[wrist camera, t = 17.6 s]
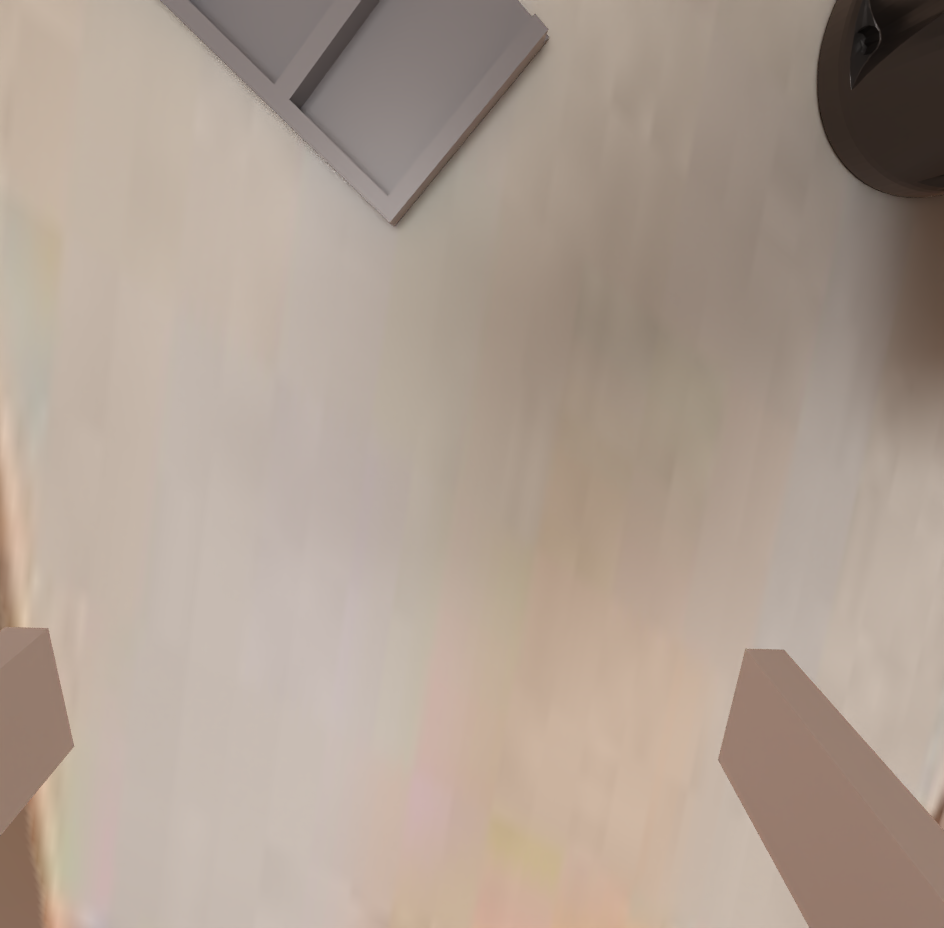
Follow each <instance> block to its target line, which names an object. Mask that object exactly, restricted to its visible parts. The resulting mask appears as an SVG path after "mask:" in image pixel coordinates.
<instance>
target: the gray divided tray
mask: <svg viewBox="0 0 944 928" xmlns="http://www.w3.org/2000/svg"><path fill="white" fill-rule="evenodd" d="M160 1H161V2H163V3H164V4H165V5H166V6H167V7H168V8H169V9H170V10H171V11H172V12H173V13H174V14H175V15H176V16H177V17H178V18H179V19H180V20H181V21H182V22H183V23H184V24H185V25H186V26H187V27H188V28H189V29H190V30H191V31H192V32H193V33H194V34H196V35H197V36H198V37H199V38H200V39H201V40H202V41H203V42H204V43H205V44H206V45H207V46H208V47H209V48H210V49H211V50H212V51H213V52H214V53H215V54H216V55H217V56H218V57H219V58H220V59H221V60H222V61H223V62H224V63H225V64H226V65H227V66H228V67H230V68H231V69H232V70H233V71H234V72H235V73H236V74H237V75H238V76H239V77H240V78H241V79H242V80H243V81H244V82H245V83H246V84H247V85H248V86H249V87H250V88H251V89H252V90H253V91H254V92H255V93H256V94H257V95H258V96H259V97H260V98H261V99H263V100H264V101H265V102H266V103H267V104H268V105H269V106H270V107H271V108H272V109H273V110H274V111H275V112H276V113H277V114H278V115H279V116H280V117H281V118H282V119H283V120H284V121H285V122H286V123H287V124H288V125H289V126H290V127H291V128H292V129H293V130H294V131H296V132H297V133H298V134H299V135H300V136H301V137H302V138H303V139H304V140H305V141H306V142H307V143H308V144H309V145H310V146H311V147H312V148H313V149H314V150H315V151H316V152H317V153H318V154H319V155H320V156H321V157H322V158H323V159H324V160H325V161H326V162H327V163H328V164H330V165H331V166H332V167H333V168H334V169H335V170H336V171H337V172H338V173H339V174H340V175H341V176H342V177H343V178H344V179H345V180H346V181H347V182H348V183H349V184H350V185H351V186H352V187H353V188H354V189H355V190H356V191H357V192H358V193H359V194H360V195H361V196H363V197H364V198H365V199H366V200H367V201H368V202H369V203H370V204H371V205H372V206H373V207H374V208H375V209H376V210H377V211H378V212H379V213H380V214H381V215H382V216H383V217H384V218H385V219H386V220H387V221H388V222H389V223H390V224H392V225H393V226H395V225H396V224H397V223H398V221H399V220H400V219H401V218H402V217H403V215H404V214H405V213H406V212H407V211H408V209H409V208H410V207H411V206H412V204H413V203H414V202H415V201H416V200H417V198H418V197H419V196H420V195H421V194H422V192H423V191H424V190H425V189H426V187H427V186H428V185H429V184H430V183H431V181H432V180H433V179H434V178H435V176H436V175H437V174H438V173H439V172H440V170H441V169H442V168H443V167H444V166H445V164H446V163H447V162H448V161H449V159H450V158H451V157H452V156H453V155H454V153H455V152H456V151H457V150H458V149H459V147H460V146H461V145H462V144H463V142H464V141H465V140H466V139H467V138H468V136H469V135H470V134H471V133H472V132H473V130H474V129H475V128H476V127H477V125H478V124H479V123H480V122H481V121H482V119H483V118H484V117H485V116H486V115H487V113H488V112H489V111H490V110H491V108H492V107H493V106H494V105H495V104H496V102H497V101H498V100H499V99H500V97H501V96H502V95H503V94H504V93H505V91H506V90H507V89H508V88H509V87H510V85H511V84H512V83H513V82H514V80H515V79H516V78H517V77H518V76H519V74H520V73H521V72H522V71H523V70H524V68H525V67H526V66H527V65H528V63H529V62H530V61H531V60H532V59H533V57H534V56H535V55H536V54H537V53H538V51H539V50H540V49H541V48H542V46H543V45H544V44H545V43H546V42H547V40H548V38H549V36H548V35H547V31H548V28H547V27H546V26H545V25H544V24H543V22H542V21H541V20H540V19H539V18H538V17H537V15H536V14H534V15H533V17H532V16H531V15H530V14H529V13H528V12H527V10H526V9H525V8H524V7H523V6H522V5H521V3H520V2H519V1H518V0H160Z"/></svg>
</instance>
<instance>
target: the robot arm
mask: <svg viewBox="0 0 944 928" xmlns="http://www.w3.org/2000/svg"><path fill="white" fill-rule="evenodd" d="M818 96H819V105H820V111H821V116H822V120H823V124H824V127H825V130H826V133H827V136H828V138H829V140H830V143H831V145H832V147H833V148H834V150H835V152H836V154H837V155H838V157H839V158H840V160H841V161H842V162H843V163H844V165H845V166H846V167H847V168H848V169H849V170H850V171H851V172H852V173H853V174H854V175H855V176H856V177H858V178H859V179H860V180H861V181H863V182H864V183H866V184H867V185H869V186H871V187H873V188H875V189H877V190H880V191H882V192H885V193H888V194H892V195H896V196H902V197H914V198H917V197H931V196H937V195H943V194H944V0H837V2H836V4H835V6H834V9H833V11H832V14H831V16H830V19H829V22H828V25H827V28H826V32H825V35H824V39H823V44H822V49H821V54H820V61H819V71H818ZM73 747H74V744H73V739H72V735H71V730H70V725H69V721H68V716H67V712H66V707H65V703H64V698H63V694H62V689H61V685H60V680H59V675H58V671H57V666H56V662H55V657H54V653H53V648H52V644H51V639H50V634H49V630H48V628H20V627H5V628H3V629H2V630H1V631H0V835H1V834H2V833H3V832H4V831H5V829H6V828H7V827H8V826H9V825H10V823H11V822H12V821H13V820H14V818H15V817H16V816H17V815H18V814H19V812H20V811H21V810H22V809H23V808H24V806H25V805H26V804H27V803H28V802H29V800H30V799H31V798H32V797H33V795H34V794H35V793H36V792H37V791H38V789H39V788H40V787H41V786H42V785H43V783H44V782H45V781H46V780H47V779H48V777H49V776H50V775H51V774H52V772H53V771H54V770H55V769H56V768H57V766H58V765H59V764H60V763H61V762H62V760H63V759H64V758H65V757H66V756H67V754H68V753H69V752H70V751H71V749H72V748H73ZM718 761H719V762H720V764H721V766H722V768H723V770H724V772H725V773H726V775H727V777H728V779H729V781H730V783H731V784H732V786H733V788H734V790H735V792H736V794H737V795H738V797H739V799H740V801H741V803H742V805H743V807H744V808H745V810H746V812H747V814H748V816H749V818H750V819H751V821H752V823H753V825H754V827H755V829H756V830H757V832H758V834H759V836H760V838H761V840H762V841H763V843H764V845H765V847H766V849H767V851H768V852H769V854H770V856H771V858H772V860H773V862H774V863H775V865H776V867H777V869H778V871H779V873H780V875H781V876H782V878H783V880H784V882H785V884H786V886H787V887H788V889H789V891H790V893H791V895H792V897H793V898H794V900H795V902H796V904H797V906H798V908H799V909H800V911H801V913H802V915H803V917H804V919H805V920H806V922H807V924H808V926H809V928H944V830H943V829H942V828H941V827H940V825H939V824H938V823H937V822H936V821H935V820H934V819H933V818H932V816H931V815H930V814H929V813H928V812H927V811H926V810H925V808H924V807H923V806H922V805H921V804H920V803H919V802H918V801H917V799H916V798H915V797H914V796H913V795H912V794H911V793H910V792H909V790H908V789H907V788H906V787H905V786H904V785H903V784H902V783H901V781H900V780H899V779H898V778H897V777H896V776H895V775H894V773H893V772H892V771H891V770H890V769H889V768H888V767H887V766H886V764H885V763H884V762H883V761H882V760H881V759H880V758H879V757H878V755H877V754H876V753H875V752H874V751H873V750H872V749H871V748H870V746H869V745H868V744H867V743H866V742H865V741H864V740H863V738H862V737H861V736H860V735H859V734H858V733H857V732H856V731H855V729H854V728H853V727H852V726H851V725H850V724H849V723H848V722H847V720H846V719H845V718H844V717H843V716H842V715H841V714H840V712H839V711H838V710H837V709H836V708H835V707H834V706H833V705H832V703H831V702H830V701H829V700H828V699H827V698H826V697H825V696H824V694H823V693H822V692H821V691H820V690H819V689H818V688H817V687H816V685H815V684H814V683H813V682H812V681H811V680H810V679H809V677H808V676H807V675H806V674H805V673H804V672H803V671H802V670H801V668H800V667H799V666H798V665H797V664H796V663H795V662H794V661H793V659H792V658H791V657H790V656H789V655H788V654H787V653H786V652H785V650H771V649H745V653H744V657H743V661H742V665H741V669H740V673H739V677H738V681H737V685H736V689H735V693H734V697H733V701H732V706H731V710H730V714H729V718H728V722H727V726H726V730H725V734H724V738H723V742H722V746H721V750H720V754H719V758H718Z"/></svg>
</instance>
